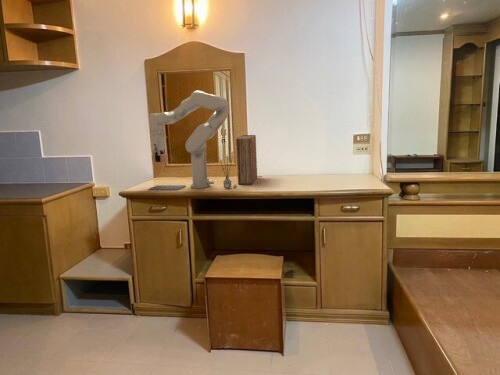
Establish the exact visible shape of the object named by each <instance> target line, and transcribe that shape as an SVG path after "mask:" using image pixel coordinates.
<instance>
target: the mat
mask: <svg viewBox="0 0 500 375" xmlns="http://www.w3.org/2000/svg"><path fill="white" fill-rule="evenodd" d="M184 188H186V185H185V184H184V185H176V184H175V185H171V184H169V185H168V184H167V185H164V184H163V185H162V184H161V185H155V186H152V187H150V188H148V191H179V190H181V189H184Z"/></svg>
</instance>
